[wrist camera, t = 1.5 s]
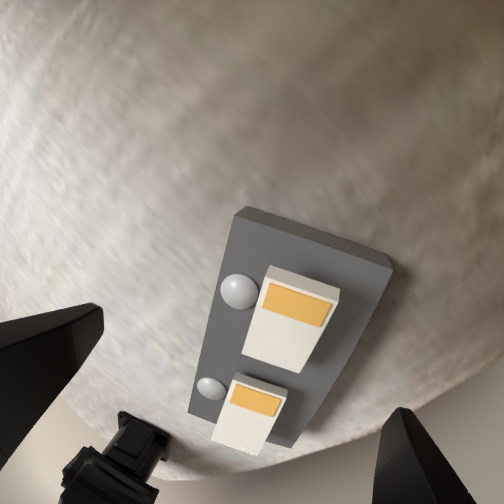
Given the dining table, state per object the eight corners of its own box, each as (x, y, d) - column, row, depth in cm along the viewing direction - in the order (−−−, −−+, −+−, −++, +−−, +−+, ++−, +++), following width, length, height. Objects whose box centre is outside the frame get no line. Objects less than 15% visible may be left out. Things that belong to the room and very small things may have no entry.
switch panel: (284, 443, 26) (278, 465, 23) (193, 412, 27) (182, 432, 24) (386, 254, 18) (394, 271, 16) (246, 205, 19) (233, 215, 17)
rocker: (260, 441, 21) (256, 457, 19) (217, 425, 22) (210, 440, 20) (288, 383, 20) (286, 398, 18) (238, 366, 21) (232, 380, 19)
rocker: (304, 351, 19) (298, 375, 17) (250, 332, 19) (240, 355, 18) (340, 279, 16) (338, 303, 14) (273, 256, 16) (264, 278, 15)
